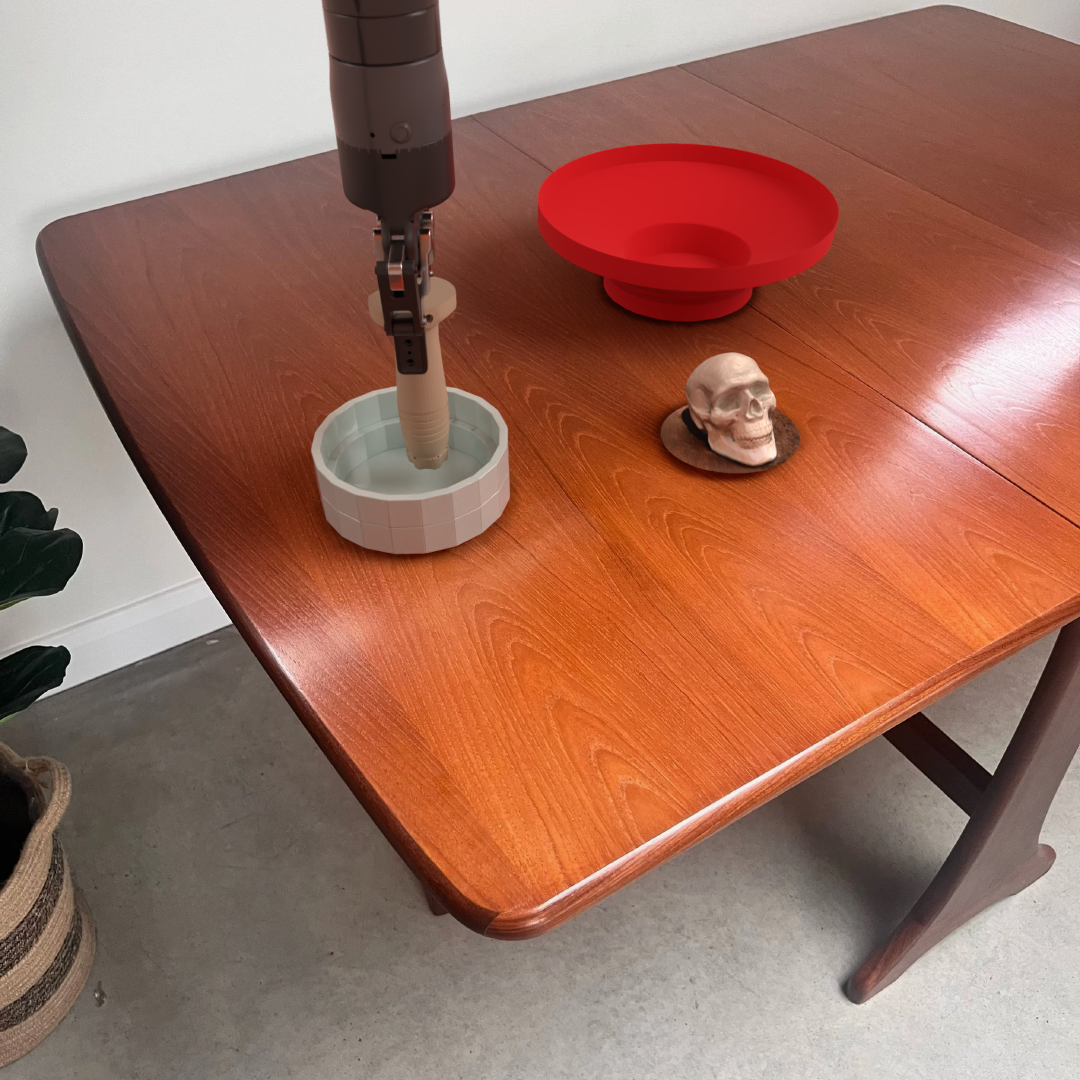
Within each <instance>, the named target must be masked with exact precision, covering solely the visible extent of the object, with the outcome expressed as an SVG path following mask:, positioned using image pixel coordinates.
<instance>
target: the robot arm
mask: <svg viewBox="0 0 1080 1080" xmlns="http://www.w3.org/2000/svg"><path fill="white" fill-rule="evenodd" d="M320 1H321V10H322V15H323V16H322V17H323V24H324V31H325V39H326V46H327V51H328V66H329V68H328V69H329V70H328V71H329V73H328V75H329V76H328V77H329V78H328V81H329V82H328V83H329V96H330V104H331V110H332V111H331V112H332V119H333V124H334V125H333V126H334V132H335V139H336V147H337V153H338V160H339V168H340V175H341V183H342V190H343V194H344V196H345V198H346V199H347V200H348V201H349V202H350V203H351V204H352V205H354V206H355V207H356V208H358V209H361V210H364V211H369V212H371V213H373V214H375V215H376V216H375V217H376V219H375V220H376V227H373V228H372V249H373V252H374V254H375V256H376V257H377V260H376V263H375V266H374V274H375V275H376V279H377V286H378V290H379V293H380V299H381V305H382V311H383V317H384V327H383V331H384V332H385V335H386V337H393V346H394V345H395V347H394V354H395V353H396V362H397V370H398V372H399V373H400V374H403V375H422V374H425V373H426V372H427V370H428V355H427V345H426V334H425V325H427V318H425V307H424V297H425V296H426V295H428V294H429V292H430V290H431V284H430V277H434V270H432V265H433V264H434V263H435V257H436V256H435V254H436V247H435V240H434V237H435V225H436V224H435V215H434V211H430V209H433V208H435V207H437V206H440V205H441V204H443V203H444V202H446V201H447V200H448V199H449V198H450V197H451V196H452V195H453V193H454V191H455V189H456V173H455V171H456V169H455V158H454V157H455V155H454V141H453V140H454V139H453V125H452V111H451V96H450V85H449V79H448V72H447V68H446V63H445V57H444V50H443V49H444V48H443V39H442V38H443V37H442V24H441V10H440V9H441V8H440V0H320ZM417 278H421V282H420V283H419V284H418V282H417ZM397 311H410V312H411V313H397Z"/></svg>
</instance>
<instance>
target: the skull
mask: <svg viewBox="0 0 1080 1080" xmlns="http://www.w3.org/2000/svg"><path fill="white" fill-rule="evenodd" d="M685 396H686V401H687V405H683V406H682V407H679V408H678V409H676V410H675V411H673V412H672V413H670V414H669V415H668V416H667V417H666V419H664V421H663V422H662V424H661V428H660V438H661V442H662V444H663V446H664V447H665V448H666V449H667V451H668V452H669V453H671V454H672V455H673V456H674V457H675V458H677V459H679V461H682V462H684V463H686V464H687V465H691V466H693V467H695V468H698V469H701V470H706V471H708V472H709V471H710V472H712V471H713V472H715V474H717V473H723V474H749V473H756V472H757V473H758V472H763V471H769V470H771V469H775V468H777V467H779V466H781V465H782V464H784V463H786V462H787V461H788V460H790V459H791V458H792V457H793V456H794V455H795V454H796V452H797V451H798V449H799V446H800V443H801V436H800V435H801V434H800V432H799V429H798V427H797V425H796V424H795V423H794V422H793V421H792V419H791V418H789V417H788V416H787V415H786V414H784V413H783V412H781V411H780V410H777V409H776V407H777V399H776V397H775V393H774V392H773V391H772V390H771V388H770V380H769V378H768V376H767V375H765V373H763V371H762V370H761V368H760V367H759V365H758V363H757V362H756V361H755V359H753V358H751V357H750V356H748V355H745V354H743V353H739V352H734V351H733V352H724V353H719V354H716V355H713V356H711V357H709V358H707V359H704V360H703V361H702V362H701V363H699V365H698V366H696V368H695V369H694V370H693V371H692V373H691V374H690V375H689V377H688V378H687V381H686V383H685Z"/></svg>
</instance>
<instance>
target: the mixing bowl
mask: <svg viewBox="0 0 1080 1080" xmlns="http://www.w3.org/2000/svg"><path fill="white" fill-rule="evenodd" d="M446 389H447V395H448V405H449V437H448V444H447V445H449V453H448V459H447V460H446V461H444V462H443V463H442V464H441V467H440V468H438V469H435V470H433V469H421V470H419V469H416V468H415V466H414V464H413V463H411V462H410V461H409V459H408V456H407V452H406V448H407V447H406V444H405V441H404V438H403V435H402V430H401V425H400V420H399V413H398V404H397V385H395V386H389V387H385V388H380V389H374V390H372V391H369V392H366V393H364V394H362V395H359V396H357V397H355V398H351V399H349V400H347V401H346V402H345V403H343V404H342V405H341V406H338V408H336V409H335V410H333V411H331V412H330V413H329V414H328V415H327V416H326V417H325V419H324V420H323V421H322V422H321V424H320V425H319V426H318V427H317V429H316V430H315V432H314V436H313V440H312V443H311V447H310V453H311V458H312V462H313V468H314V473H315V477H316V483H317V488H318V493H319V498H320V503H321V506H322V510H323V513H324V516H325V520H326V521H327V522H328V524H330V526H331V527H332V528H333V529H334V530H335V531H336V532H337V533H338V534H339V536H341V537H342V538H344V539H346V540H348V541H349V542H352V543H354V544H356V545H358V546H360V547H362V548H364V549H366V550H372V551H377V552H382V553H387V554H394V555H413V554H417V555H418V554H429V553H433V552H434V553H435V552H438V551H441V550H446V549H450V548H454V547H457V546H459V545H462V544H463V543H466V542H468V541H469V540H472V539H474V538H475V537H478V536H479V535H481V534H483V533H484V532H485V531H486V530H487V529H488V528H489V527H490V526H492V525H493V524H494V523H495V522H496V521H497V520H499V518H501V516H502V515H503V512H504V511H505V508H506V507H507V504H508V502H509V501H510V499H511V474H510V473H511V470H510V451H509V427H508V425H507V423H506V421H505V420H504V418H503V416H502V415H501V413H500V411H499V410H498V409H497V408H496V407H495V406H493V405H492V404H491V403H489V402H488V401H487V400H486V399H484V398H483V397H480V396H478V395H476V394H473V393H471V392H468V391H465V390H463V389H461V388H457V387H454V386H453V387H451V386H446Z"/></svg>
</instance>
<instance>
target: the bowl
mask: <svg viewBox="0 0 1080 1080" xmlns="http://www.w3.org/2000/svg"><path fill="white" fill-rule="evenodd" d="M839 217H840V209H839V204H838V201H837V200H836V198H835V196H834V194H833V192H832V191H831V190H830V189H829V187H827V186H826V185H825V184H824V183H822V182H821V181H820V180H819V179H817V178H816V177H815V176H813V175H811V174H810V173H808V172H806V171H804V170H803V169H801V168H798V167H796V166H794V165H792V164H789V163H787V162H785V161H782V160H779V159H776V158H773V157H771V156H767V155H764V154H760V153H756V152H752V151H747V150H744V149H739V148H733V147H726V146H719V145H713V144H712V145H711V144H699V143H681V142H680V143H678V142H667V143H666V142H665V143H664V142H662V143H644V144H643V143H642V144H633V145H626V146H619V147H613V148H608V149H604V150H599V151H596V152H592V153H589V154H586V155H583V156H580V157H578V158H576V159H573V160H571V161H568V162H566V163H565V164H562V166H560V167H558V168H557V169H555V170H554V171H552V172H551V173H550V174H549V175H548V176H547V177H546V178H545V179H544V181H543V182H542V183H541V186H540V187H539V189H538V194H537V227H538V230H539V233H540V235H541V237H542V238H543V240H544V241H545V243H546V244H547V245H548V246H549V248H551V249H552V250H553V251H554V252H555V253H556V254H558V255H559V256H560V257H562V258H563V259H564V260H566V261H567V262H569V263H571V264H573V265H575V266H577V267H578V268H581V269H583V270H585V271H587V272H589V273H592V274H594V275H597V276H601V277H603V288H604V290H605V292H606V294H607V295H608V296H609V298H610V299H611V300H612V301H613V302H614V303H616V304H618V305H619V306H621V307H623V308H624V309H626V310H627V311H629V312H632V313H634V314H637V315H641V316H643V317H647V318H651V319H654V320H655V319H656V320H660V321H667V322H668V321H670V322H684V323H686V322H687V323H689V322H690V323H691V322H700V321H708V320H714V319H720V318H722V317H725V316H727V315H730V314H733V313H734V312H737V311H739V310H740V309H742V308H743V307H744V306H745V305H746V304H747V303H748V302H749V300H750V299H751V298H752V294H753V289H754V288H757V287H762V286H767V285H770V284H774V283H778V282H781V281H785V280H787V279H790V278H793V277H795V276H798V275H799V274H801V273H803V272H805V271H807V270H809V269H810V268H812V267H814V266H815V265H817V263H819V262H820V261H821V260H822V259H823V258H824V257H825V255H826V254H827V253H828V252H829V250H830V248H831V246H832V244H833V240H834V237H835V233H836V229H837V225H838V222H839Z"/></svg>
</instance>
